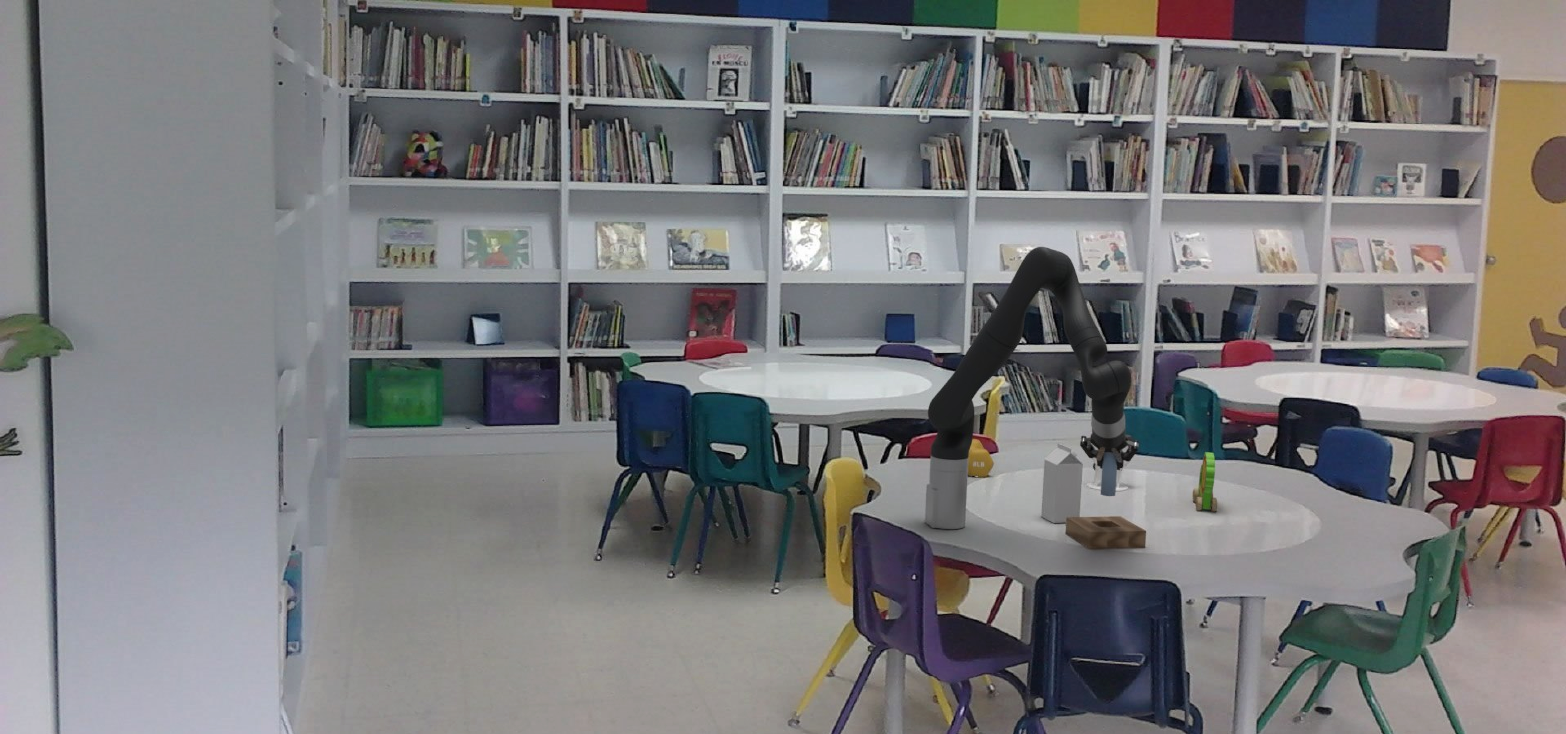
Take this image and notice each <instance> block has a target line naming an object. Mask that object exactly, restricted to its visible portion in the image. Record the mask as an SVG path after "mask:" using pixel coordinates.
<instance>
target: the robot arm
mask: <svg viewBox="0 0 1566 734" xmlns="http://www.w3.org/2000/svg"><path fill="white" fill-rule="evenodd" d="M1041 289H1044V290H1049V292H1050V293H1052V295H1054V298H1055V299H1056V300H1057V302H1058V303H1059V305H1060V307H1061V310H1062V311H1061V312H1062V316H1063V317H1062V319H1063V330H1064V333H1065V334H1064V335H1065V337H1066V339H1067V340H1068V343H1069V345H1070V347H1071V349H1072V352H1073V353H1074V355H1075V357H1076V360H1077V363H1078V366H1079V370H1080V376H1081V382H1082V389H1083V391H1084V393H1085V395H1086V396H1087V397H1088V398H1089V399H1091V417H1090V418H1091V420H1090V425H1091V434H1092V436H1091V435H1090V436H1091V437H1087V436H1086V435H1081V437H1080V443H1079V446H1080V448H1081V449H1082V451H1083V452H1084V453H1085V455H1086V456H1087V457H1088V458H1089V459H1092V458H1096V460H1097V466H1100V468H1101V469H1102V464H1103V454H1104V452H1111V453H1113V454H1114V456H1115V458H1116V459H1117V470H1120V468H1123V463H1124V460H1125V461H1128V462H1129V461H1130V460H1132V459H1133V458H1134V456H1135V455H1136V454H1137V453H1138V451H1139V444H1140V441H1139V440H1137V439H1134V441H1133V442H1131V441H1128V438H1127V437H1126V435H1127V434H1126V415H1125V410H1124V409H1125V406H1124V405H1125V402H1126V399H1127V397H1128V395H1129V392H1130V389H1131V386H1132V373H1131V370H1130V368H1129V367H1128V365H1127V364H1126V363H1125V362H1123V361H1121V360H1112V361H1108V362H1106V363H1103V364H1100V365H1098V366H1094V367H1093V365H1095V364H1096V363H1098V362H1099V361H1100V360H1102V359H1103V358H1104V357H1105V356H1106V355H1107V354H1108V346H1107V344H1106V342H1105V340H1104V338H1103V336H1102V334H1101V331H1100V330H1099V329H1098V326H1097V324H1096V323H1095V320H1094V319H1093V316H1092V315H1091V312H1090V310H1089V308H1088V305H1087V302H1086V299H1085V296H1084V292H1083V290H1082V288H1081V284H1080V281H1079V278H1078V274H1077V272H1076V269H1075V266H1074V263H1073V261H1072V259H1071V257H1069V256H1068V254H1065V253H1064V252H1062V251H1058V250H1056V249H1052V248H1049V247H1045V246H1037V247H1034V248H1033V249H1031V250H1030V251H1029V252H1028V253H1027V254H1026V255H1025V257H1024V258H1023V260H1022V261H1021V263H1020V264H1019V267H1018V268H1017V271H1015V275H1014V276H1013V278H1012V280H1011V282H1010V284H1009V286H1008V287H1007V289H1006V291H1005V292H1004V294H1003V296H1002V297H1001V299H1000V300H999V303H998V304H997V305H996V307H995V308H994V310H993V312H992V313H991V315H990V316H989V318H988V319H987V320H986V322H984V324H983V326H982V328H981V329H980V331H978V333H977V334H976V337H975V338H974V340H973V342H972V343H971V345H970V346H969V348H968V350H967V351H966V353H964V356H963V357H962V359H961V361H960V362H959V364H958V365H957V367H956V369H955V371H954V373H952V375H951V376H950V378H948V380H947V381H946V382H945V383H944V385H943V386H942V387H941V388H940V390H939V391H938V392H937V393H936V395H934V396H933V397H932V399H931V401H930V402H929V406H928V409H927V417H928V421H929V423H930V425H932V427H933V428H935V429H936V430H937V433H936V436H935V438H934V440H933V442H932V443H931V445H930V462H929V463H930V465H929V481H928V482H929V483H928V484H926V486H925V487H926V491H925V492H926V493H925V513H924V522H925V523H926V524H927V525H928V526H929V527H930V528H932V529H943V530H957V529H958V530H959V529H962V528H965V527H966V519H967V517H966V514H967V512H966V511H967V498H968V497H967V495H968V494H967V493H968V492H967V491H968V477H969V475H968V459H969V449H970V447H971V444H972V439H974V437H973V435H974V428H975V427H974V426H975V405H974V401H973V398H975V396H976V394H977V393H978V391H979V390H980V389H981V388H983V386H984V385H985V384H986V383H987V382H988V381H989V380H990V379H992V378H993V377H994V376H995V375H996V374H997V372H999V370H1000V369H1001V368H1002V367H1004V365H1006V363H1007V361H1008V360H1009V359H1010V357H1011V356H1012V355H1013V353H1014V352H1015V350H1016V349H1017V347H1018V346H1019V344H1020V342H1021V340H1022V338H1023V334H1024V327H1025V318H1026V314H1027V310H1028V309H1029V306H1030V304H1031V302H1032V301H1033V299H1034V298H1035V297H1036V295H1037V294H1038V293H1039V291H1040V290H1041ZM1092 444H1093V445H1094V446H1095V447H1096V448H1098V450H1095V448H1094V447H1093V445H1092ZM1126 446H1128V449H1127V451H1126V452H1123V450H1122V449H1123V448H1125V447H1126ZM1130 462H1131V461H1130ZM1130 462H1129V463H1130ZM1123 469H1124V468H1123Z"/></svg>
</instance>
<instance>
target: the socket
mask: <svg viewBox="0 0 1566 734" xmlns="http://www.w3.org/2000/svg"><path fill="white" fill-rule="evenodd" d="M1065 535H1067V536H1069V537H1070V538H1072V539H1074V540H1075V541H1077V542H1078V543H1080V544H1081V545H1083V546H1084V547H1086V548H1088V549H1089V550H1095V549H1097V550H1100V549H1137V548H1139V549H1140V548H1141V549H1144V548H1146V544H1147V543H1146V542H1147V541H1146V539H1147V530H1146V529H1143V528H1142V527H1140V526H1138V525H1137V524H1135V523H1133V522H1131V521H1130V520H1128V519H1126V518H1125V517H1122V516H1121V515H1120V516H1119V515H1118V516H1116V515H1115V516H1109V515H1108V516H1080V517H1067V518H1066V523H1065Z"/></svg>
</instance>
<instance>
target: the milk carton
mask: <svg viewBox="0 0 1566 734" xmlns="http://www.w3.org/2000/svg"><path fill="white" fill-rule="evenodd" d="M1077 456H1078V454H1077V453H1076V452H1075V451H1074V450H1072V447H1069V446H1067V445H1064V444H1061V443H1059V442H1058V443H1057V447H1056V448H1055V449H1054V450H1053V451H1052V452H1051V453H1049V454H1048V455H1047V456H1046V457H1045V458H1044V464H1043V465H1044V466H1043V478H1042V479H1043V480H1042V496H1041V499H1042V500H1041V501H1042V502H1041V515H1040V517H1042V518H1044V519H1045V520H1047V521H1049V522H1051V523H1053V524H1066V518H1067V517H1081V516H1080V515H1081V499H1082V482H1083V469H1084V468H1083V467H1084V466H1083V463H1082V462H1081V461H1080V460H1079V459H1078V458H1077Z"/></svg>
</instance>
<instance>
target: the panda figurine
mask: <svg viewBox="0 0 1566 734" xmlns="http://www.w3.org/2000/svg"><path fill="white" fill-rule="evenodd" d="M1091 436H1092V433H1091V434H1090V437H1091ZM1090 437H1089V438H1090ZM1126 437H1127V438H1128V441H1131V442H1133V441H1134V440H1135V439H1134V437H1132V436H1131V435H1130V434H1126ZM1091 444H1092V443H1091ZM1092 445H1093V444H1092ZM1093 447H1094V448H1095V450H1098V448H1096V447H1095V446H1094V445H1093ZM1127 449H1128V446H1126V447H1125V448H1123V449H1122V450H1123V452H1126V451H1127ZM1091 459H1092V462H1094V463H1093V464H1092V469H1093V470H1094V478H1093V481H1090V482H1087V483H1086V487H1087V488H1089V489H1091V490H1095V491H1100V492H1101V480H1102V469H1101V468H1100V466H1097V460H1096V458H1091ZM1131 460H1132V459H1131ZM1131 460H1130V461H1129V462H1128V461H1125V460H1124V463H1123V468H1120V470H1117V476H1116V492H1115V493H1117V492H1125V491H1128V490H1129V486H1127V485H1125V484H1123V483H1121V477H1122V471H1123V469H1125V468H1126V467H1127V466H1128V465H1129V464H1130V462H1131Z"/></svg>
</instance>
